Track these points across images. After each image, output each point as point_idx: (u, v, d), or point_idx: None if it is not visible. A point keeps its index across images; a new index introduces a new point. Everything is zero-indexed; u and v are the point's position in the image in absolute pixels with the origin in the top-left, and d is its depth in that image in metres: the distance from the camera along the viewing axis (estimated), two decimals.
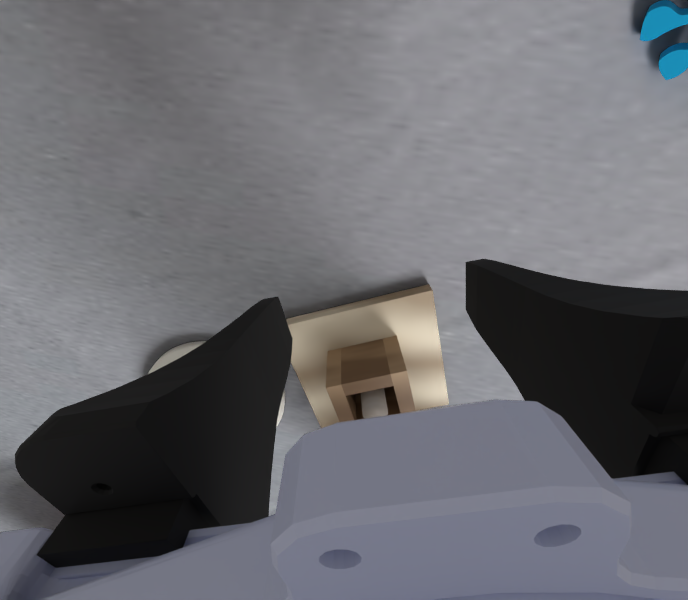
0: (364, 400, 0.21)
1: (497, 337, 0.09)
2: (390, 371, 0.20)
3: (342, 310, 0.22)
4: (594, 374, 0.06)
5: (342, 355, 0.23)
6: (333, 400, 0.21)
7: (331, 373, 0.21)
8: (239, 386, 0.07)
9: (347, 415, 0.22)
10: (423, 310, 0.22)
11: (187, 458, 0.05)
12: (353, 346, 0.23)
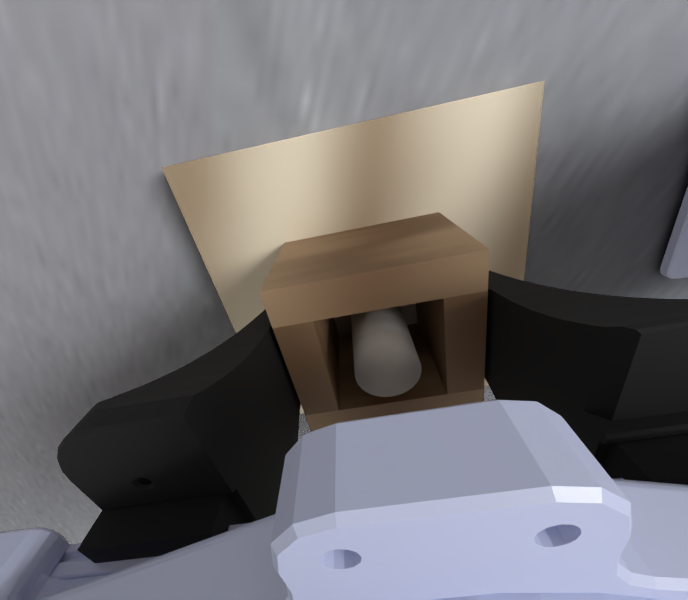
0: None
1: None
2: (276, 321, 0.08)
3: (238, 331, 0.13)
4: (553, 380, 0.06)
5: None
6: None
7: None
8: (267, 382, 0.07)
9: (401, 409, 0.09)
10: (217, 185, 0.10)
11: (227, 452, 0.05)
12: None
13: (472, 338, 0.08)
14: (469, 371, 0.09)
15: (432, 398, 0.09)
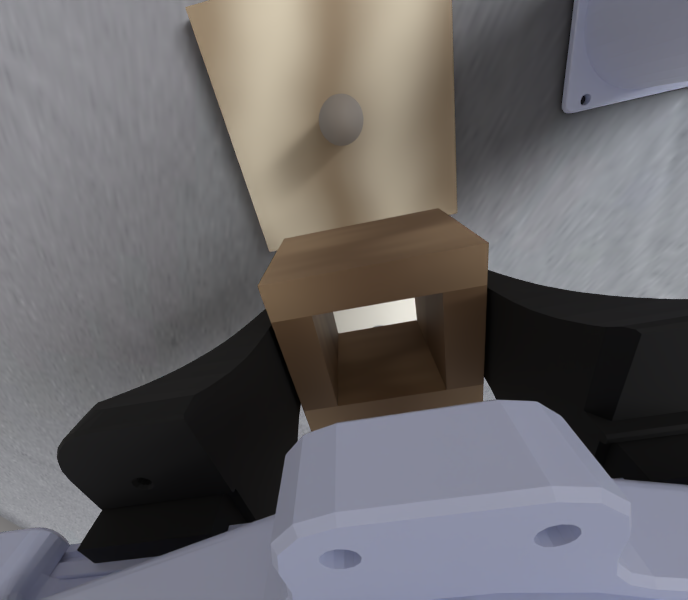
0: None
1: None
2: (275, 316, 0.08)
3: (240, 164, 0.17)
4: (553, 380, 0.06)
5: None
6: None
7: None
8: (267, 382, 0.07)
9: (400, 405, 0.09)
10: (224, 22, 0.14)
11: (227, 452, 0.05)
12: None
13: (472, 333, 0.08)
14: (468, 366, 0.09)
15: (431, 393, 0.09)
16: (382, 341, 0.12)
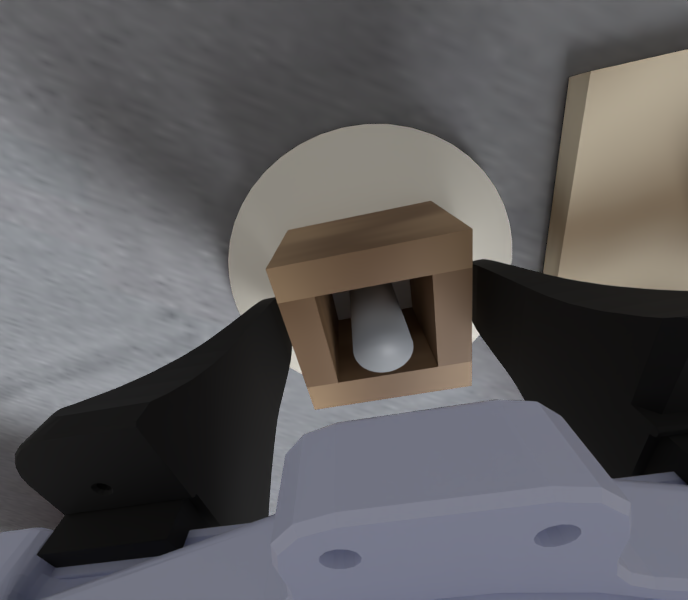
0: None
1: (497, 337, 0.09)
2: (280, 298, 0.09)
3: None
4: (594, 374, 0.06)
5: None
6: (349, 400, 0.11)
7: None
8: (239, 386, 0.07)
9: (395, 381, 0.10)
10: None
11: (187, 458, 0.05)
12: None
13: (459, 312, 0.09)
14: (457, 344, 0.09)
15: (424, 370, 0.10)
16: None
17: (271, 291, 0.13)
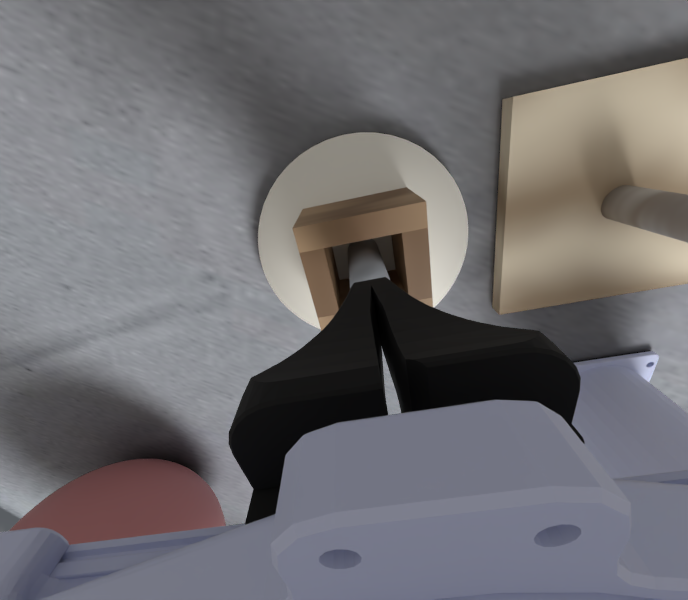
0: (684, 205, 0.12)
1: (387, 355, 0.10)
2: (301, 250, 0.13)
3: None
4: (406, 402, 0.06)
5: None
6: None
7: None
8: None
9: None
10: None
11: None
12: None
13: (422, 260, 0.13)
14: (421, 284, 0.14)
15: None
16: None
17: (289, 256, 0.17)
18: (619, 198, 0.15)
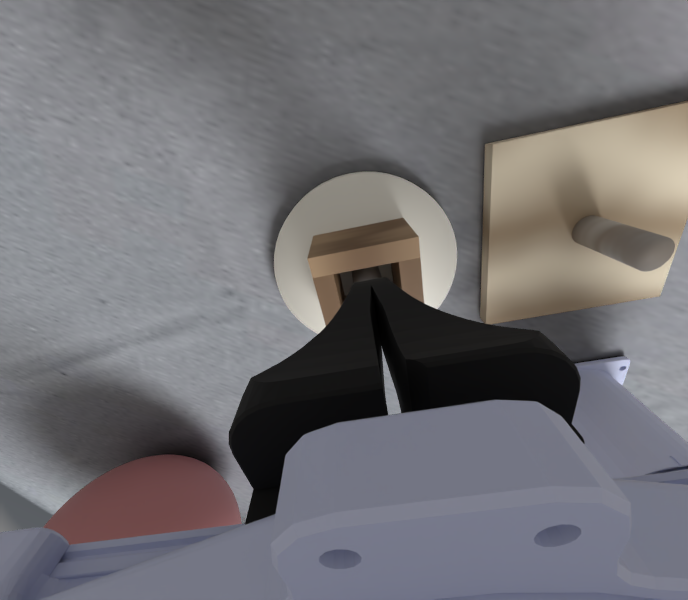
0: (633, 238, 0.15)
1: (387, 355, 0.10)
2: (313, 275, 0.16)
3: (591, 122, 0.16)
4: (406, 402, 0.06)
5: None
6: None
7: None
8: None
9: None
10: None
11: None
12: None
13: (415, 283, 0.16)
14: None
15: None
16: None
17: (300, 275, 0.20)
18: (585, 227, 0.18)
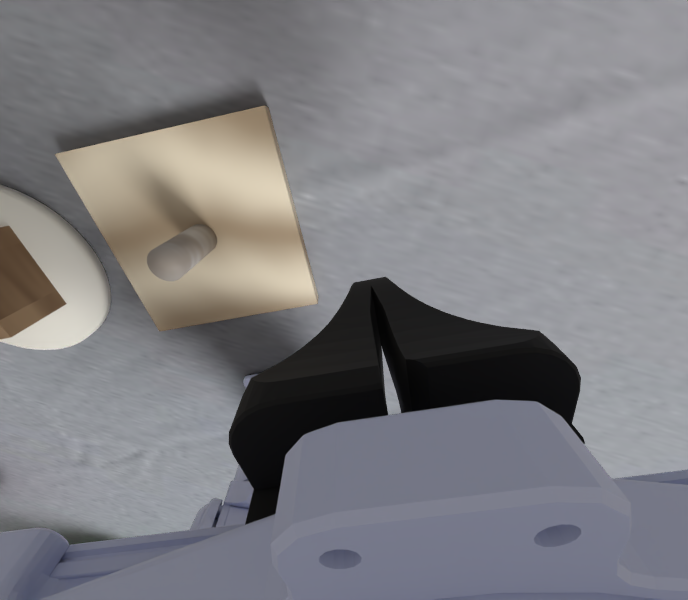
0: None
1: (387, 355, 0.10)
2: None
3: (146, 133, 0.16)
4: (406, 402, 0.06)
5: None
6: None
7: None
8: None
9: None
10: (258, 142, 0.16)
11: None
12: None
13: None
14: None
15: None
16: None
17: None
18: None
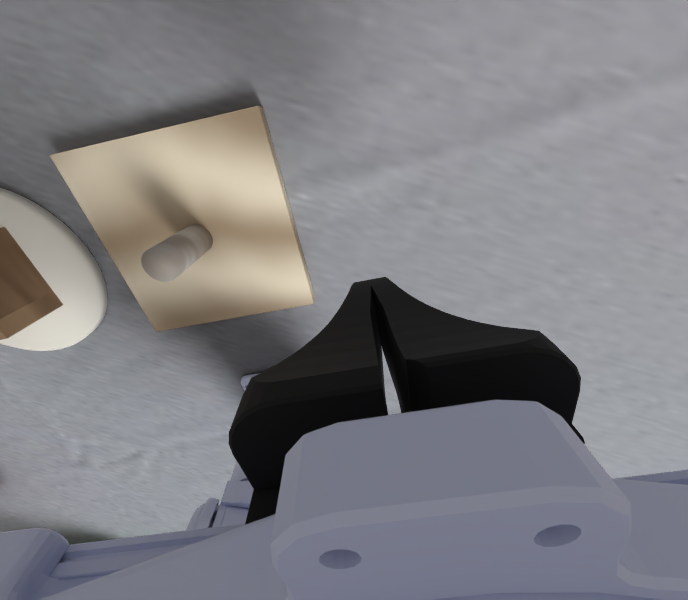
0: None
1: (387, 355, 0.10)
2: None
3: (140, 134, 0.16)
4: (406, 402, 0.06)
5: None
6: None
7: None
8: None
9: None
10: (252, 142, 0.16)
11: None
12: None
13: None
14: None
15: None
16: None
17: None
18: None
